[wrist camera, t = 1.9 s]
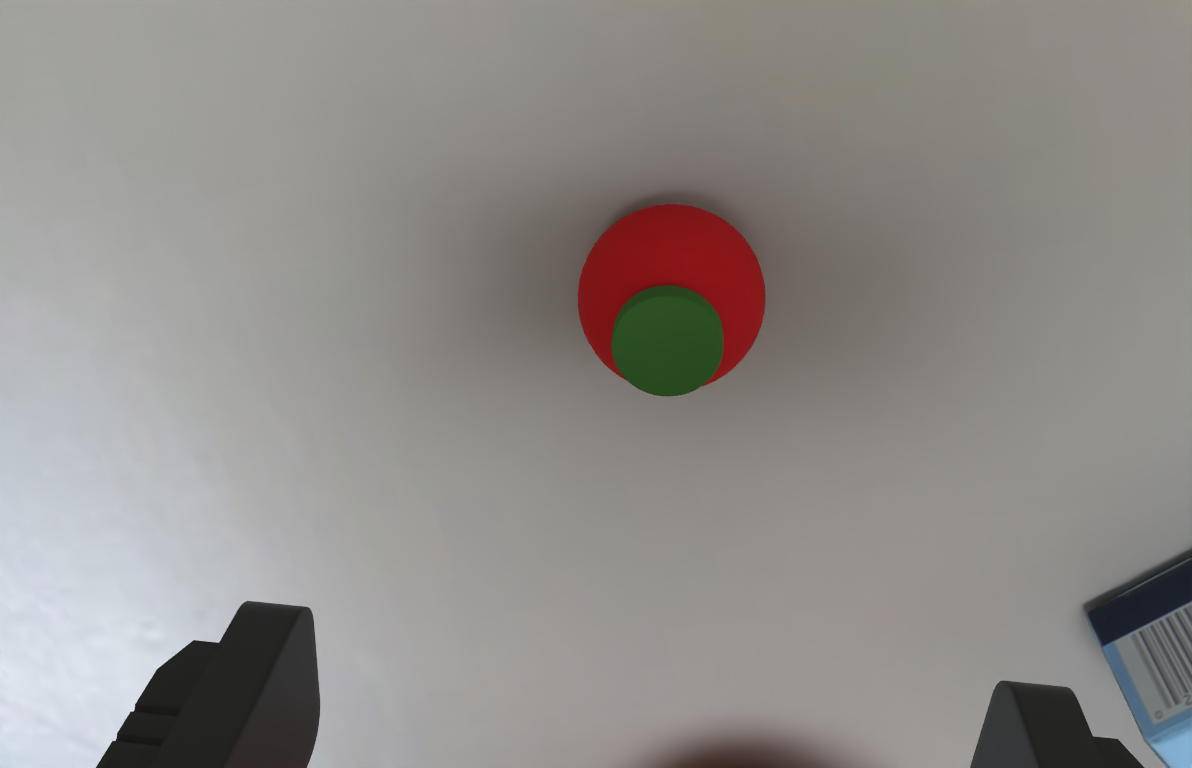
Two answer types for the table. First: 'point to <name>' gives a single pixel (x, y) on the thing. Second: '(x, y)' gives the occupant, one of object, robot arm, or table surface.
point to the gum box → (1153, 658)
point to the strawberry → (671, 298)
